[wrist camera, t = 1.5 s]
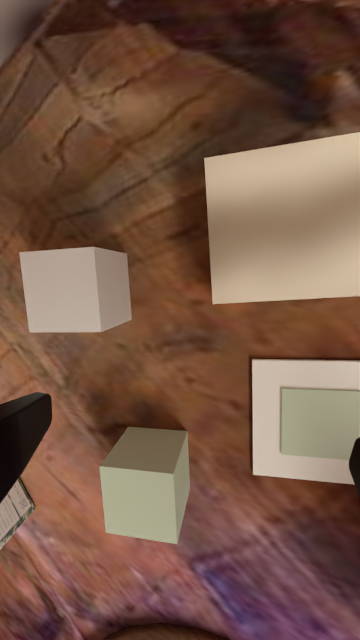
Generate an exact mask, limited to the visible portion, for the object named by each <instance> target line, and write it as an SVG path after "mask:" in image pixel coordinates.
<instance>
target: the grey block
mask: <svg viewBox="0 0 360 640" xmlns="http://www.w3.org/2000/svg"><path fill="white" fill-rule="evenodd" d="M19 255H20V262H21V270H22V278H23V286H24V294H25V302H26V310H27V317H28V325H29V332H103V331H105V330H108V329H110V328H112V327H115V326H117V325H120V324H122V323H125V322H127V321H130V320H132V317H131V303H130V289H129V275H128V261H127V253H122V252H117V251H112V250H107V249H102V248H98V247H83V248H70V249H57V250H44V251H30V252H19Z"/></svg>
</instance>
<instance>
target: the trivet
mask: <svg viewBox="0 0 360 640" xmlns="http://www.w3.org/2000/svg"><path fill="white" fill-rule="evenodd" d="M103 640H229V639H226V638H223V637H220V636H218V635H215V634H212V633H209V632H206V631H204V630H201V629H198V628H194V627H187V626H180V625H173V624H166V623H156V624H146V625H135V626H130V627H127V628H125V629H123V630H120V631H118V632H115V633H113V634H110V635H108V636H106V637H105V638H104V639H103Z"/></svg>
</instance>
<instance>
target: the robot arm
mask: <svg viewBox="0 0 360 640" xmlns="http://www.w3.org/2000/svg"><path fill="white" fill-rule="evenodd" d="M51 421H52V402H51V396H50V395H49V394H47V393H40V392H35V393H32V394H29V395H26V396H23V397H20V398H18V399H15V400H12V401H9V402H6V403H3V404H0V504H1V502H2V501H3V499H4V498H5V497H6V495H7V494H8V492H9V491H10V490H11V488H12V487H13V485H14V484H15V483H16V481H17V480H18V478H19V477H20V475H21V474H22V472H23V471H24V469H25V468H26V466H27V464H28V463H29V461H30V459H31V457H32V456H33V454H34V452H35V451H36V449H37V447H38V445H39V444H40V442H41V440H42V438H43V437H44V435H45V433H46V432H47V430H48V428H49V426H50V424H51ZM349 470H350V473H351V476H352V478H353V481H354V484H355V486H356V489H357V492H358V495H359V497H360V437H359V438H357V439H356V440H355V442H354V446H353V449H352V452H351V455H350V459H349Z"/></svg>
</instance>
